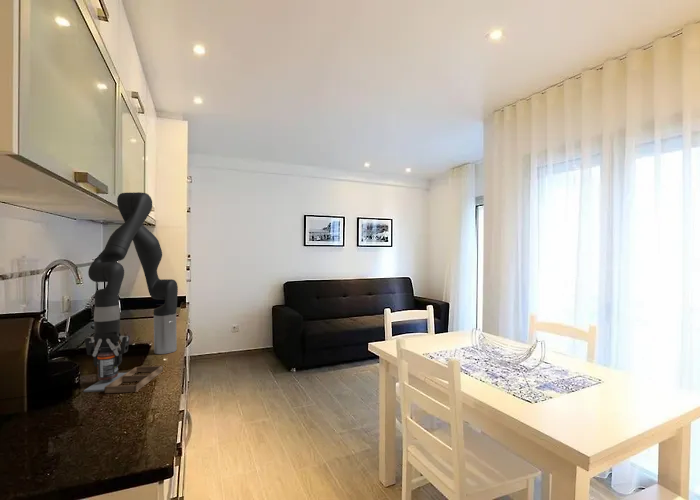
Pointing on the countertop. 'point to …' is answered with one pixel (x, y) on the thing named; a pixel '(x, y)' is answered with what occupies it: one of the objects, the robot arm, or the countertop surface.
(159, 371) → the two bay tray
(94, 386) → the slate mat
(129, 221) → the robot arm
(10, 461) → the countertop surface
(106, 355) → the supplement bottle
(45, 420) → the countertop surface
